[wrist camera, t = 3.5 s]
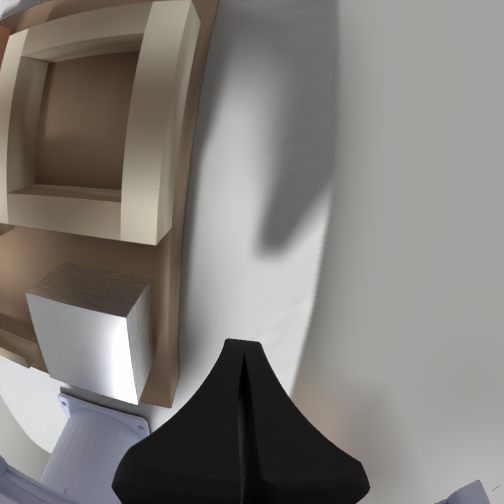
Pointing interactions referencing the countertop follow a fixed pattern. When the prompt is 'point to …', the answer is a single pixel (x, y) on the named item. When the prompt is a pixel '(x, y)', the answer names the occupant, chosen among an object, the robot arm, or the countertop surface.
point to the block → (95, 329)
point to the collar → (138, 128)
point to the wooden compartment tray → (97, 176)
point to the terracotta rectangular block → (3, 41)
